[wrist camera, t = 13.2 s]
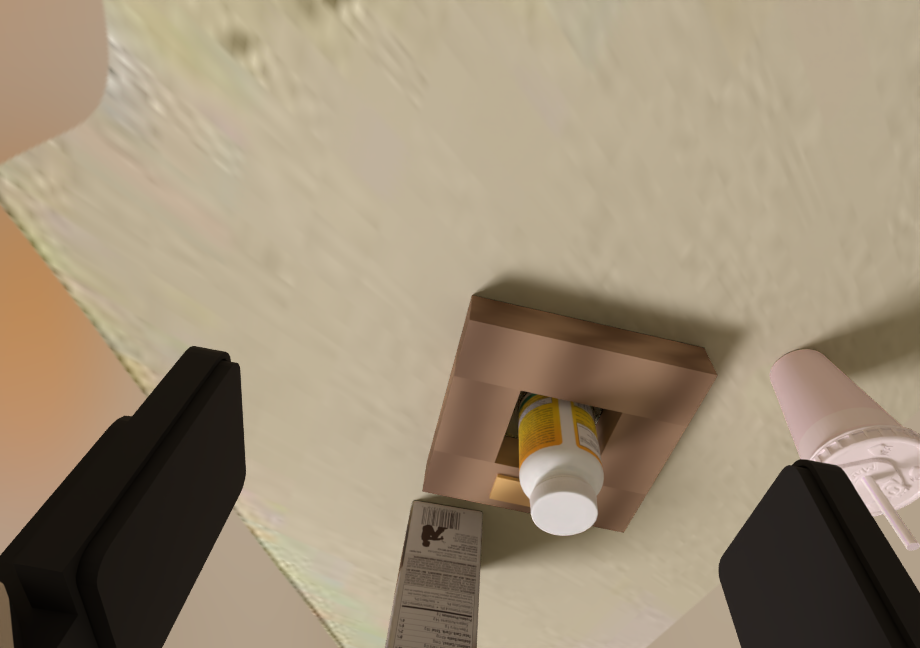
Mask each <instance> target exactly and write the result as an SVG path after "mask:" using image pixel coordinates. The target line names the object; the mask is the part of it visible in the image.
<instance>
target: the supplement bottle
mask: <svg viewBox="0 0 920 648" xmlns="http://www.w3.org/2000/svg"><path fill="white" fill-rule="evenodd" d="M518 421H519V426H518V429H519V479H520V484H521V487H522V489H523V491H524V493H525V494H526V495H527V497H528V498H529V499H530V508H531V516H532V519H533V521H534V523H535V524H536V525H537V526H538V527H539V528H540V529H541V530H543V531H545V532H547V533H550V534H554V535H561V536H565V535H574V534H578V533H581V532H583V531H585V530H587V529H588V528H590V527H591V526H592V525H593V524H594V523H595V521H596V519H597V516H598V507H597V497H596V496H597V495H598V493H599V492H600V490H601V488H602V485H603V480H604V473H603V466H602V461H601V455H600V449H599V443H598V438H597V432H596V426H595V420H594V414H593V410H592V406H590V405H585V404H580V403H576V402H571V401H567V400H562V399H557V398H553V397H548V396H544V395H539V394H535V393H530V392H528V393H527V394H526V395H525V397H524V398H523V399H522V401H521V403H520V406H519V415H518Z"/></svg>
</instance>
